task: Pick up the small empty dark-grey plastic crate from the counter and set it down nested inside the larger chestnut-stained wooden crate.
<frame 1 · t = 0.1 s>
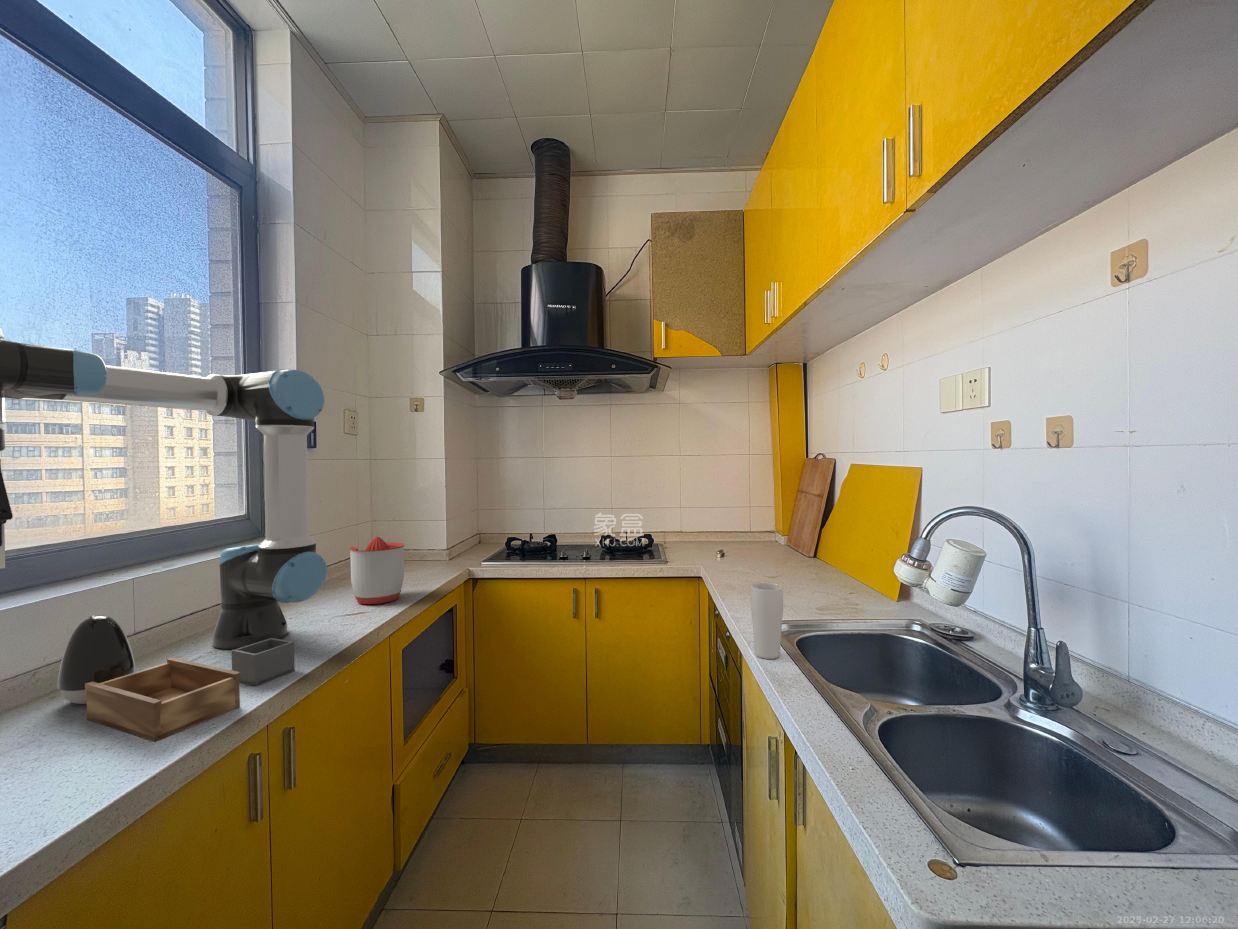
pump dispenser: (98, 699, 98), on the counter
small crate: (264, 675, 107), on the counter
large crate: (165, 713, 92), on the counter
citrus juicer: (376, 600, 165), on the counter
drinking glass: (767, 656, 115), on the counter
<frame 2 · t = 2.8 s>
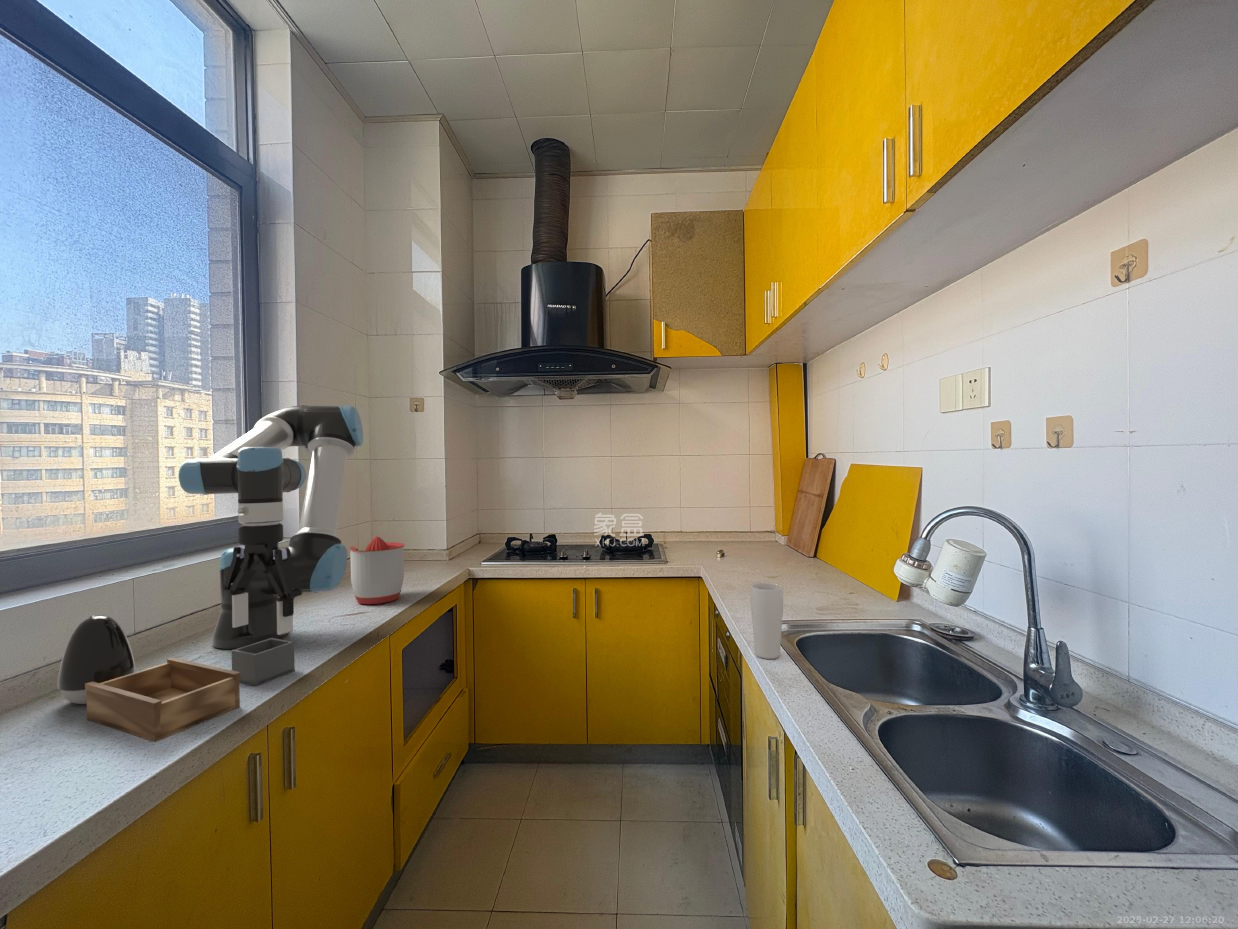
hand: (262, 629, 107), 10 cm above the counter, fingers open, 13 cm apart
nothing on the counter moved.
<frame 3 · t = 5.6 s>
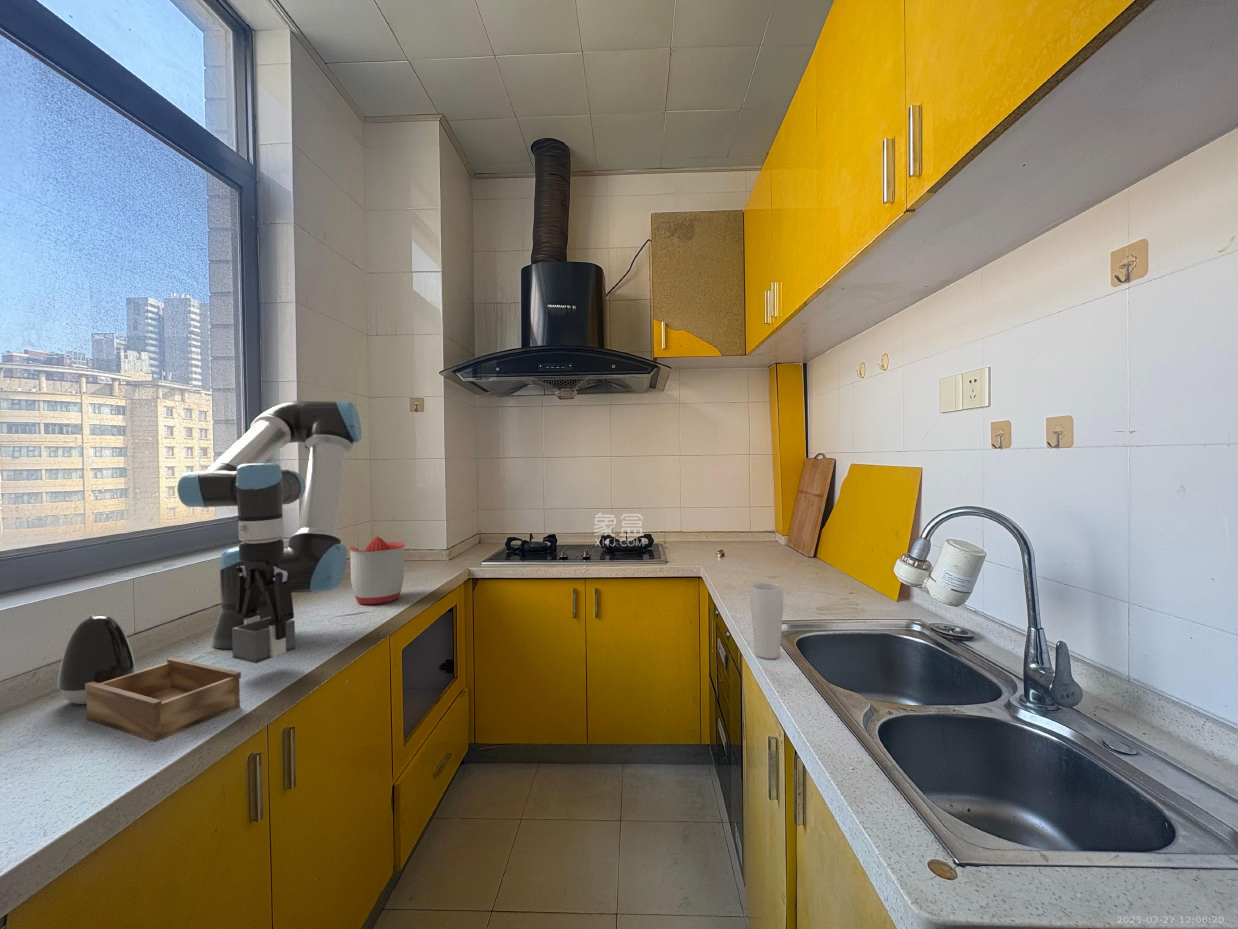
hand: (265, 651, 108), 5 cm above the counter, fingers closed on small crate, 7 cm apart
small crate: (264, 653, 108), point 4 cm above the counter, touching gripper
everything else where it was.
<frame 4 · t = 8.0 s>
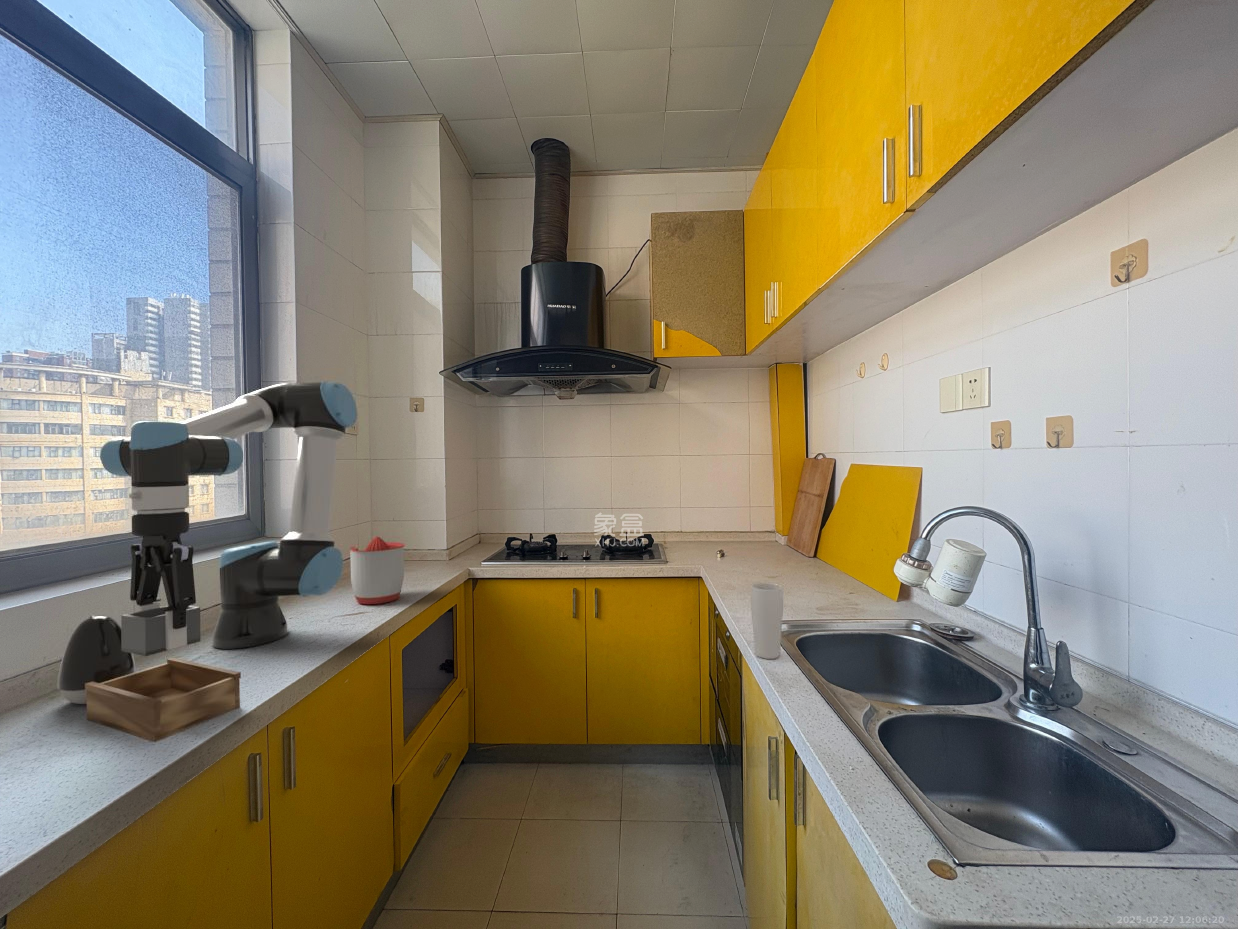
hand: (163, 644, 91), 12 cm above the counter, fingers closed on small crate, 7 cm apart
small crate: (161, 646, 91), point 12 cm above the counter, touching gripper
everything else where it was.
when the fingers open (2 cm above the counter, at t = 10.4 s): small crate stays where it is, resting on large crate.
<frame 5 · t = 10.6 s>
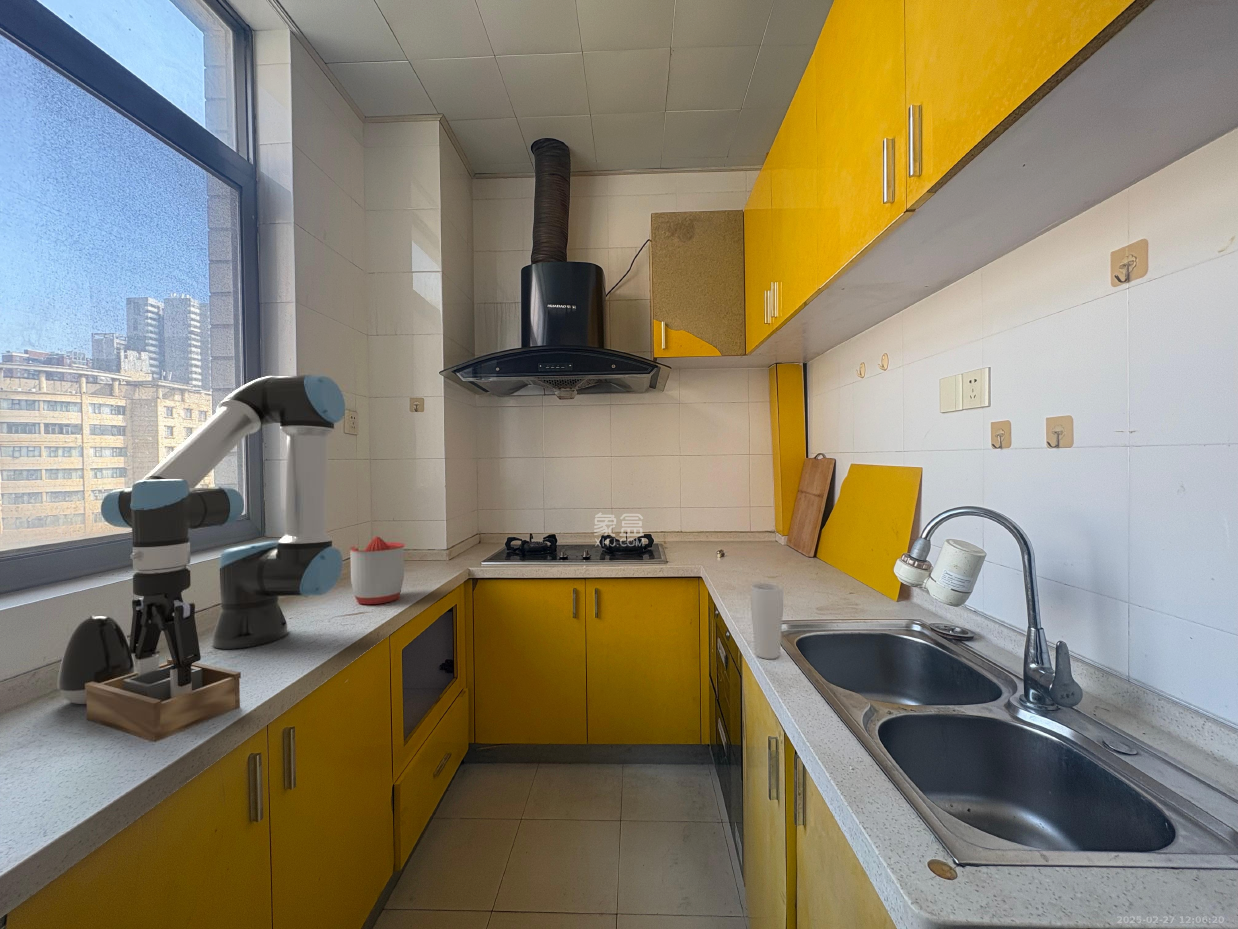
hand: (164, 699, 92), 2 cm above the counter, fingers open, 9 cm apart
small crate: (164, 709, 91), point 1 cm above the counter, touching large crate
everything else where it was.
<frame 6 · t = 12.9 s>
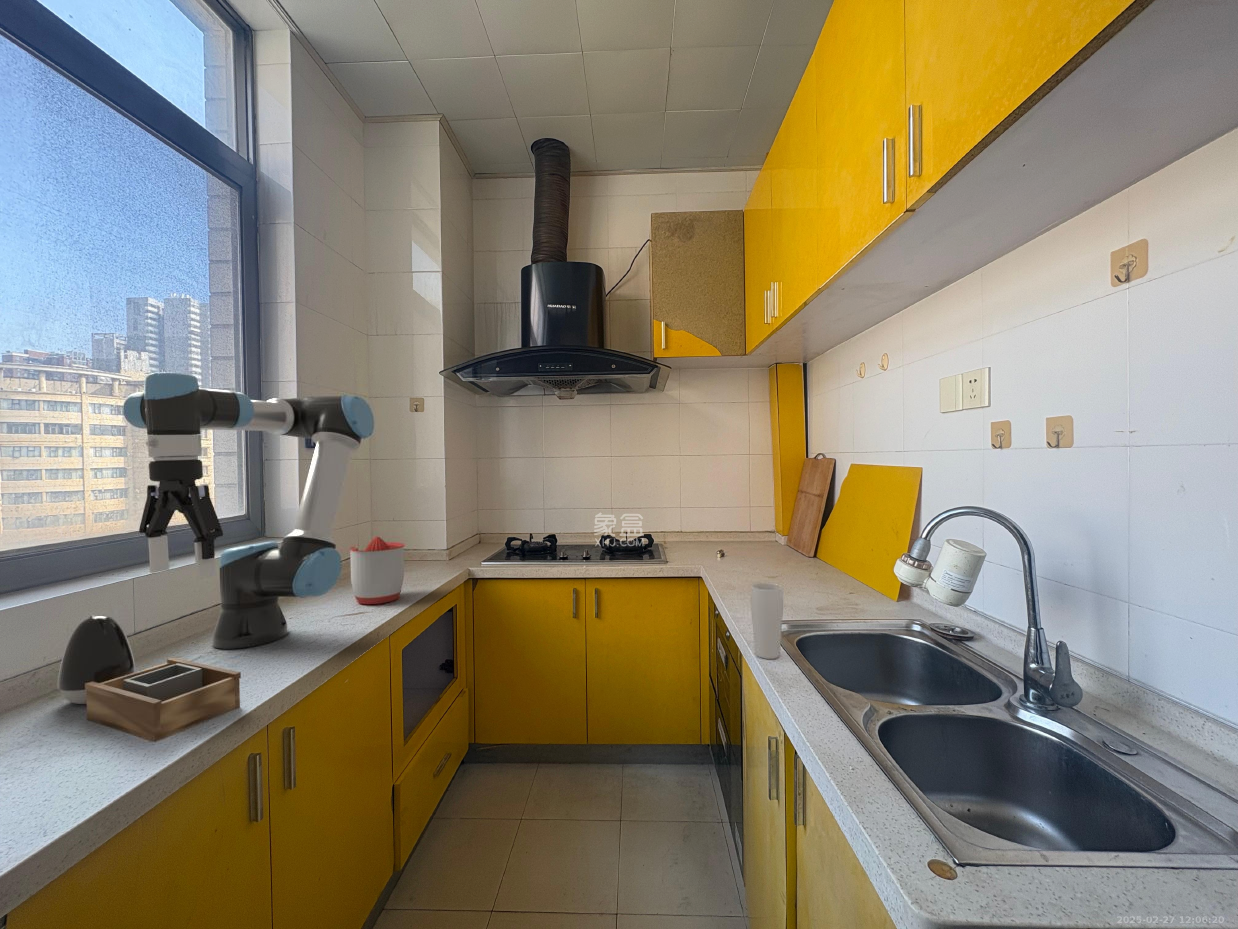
hand: (182, 574, 98), 23 cm above the counter, fingers open, 13 cm apart
nothing on the counter moved.
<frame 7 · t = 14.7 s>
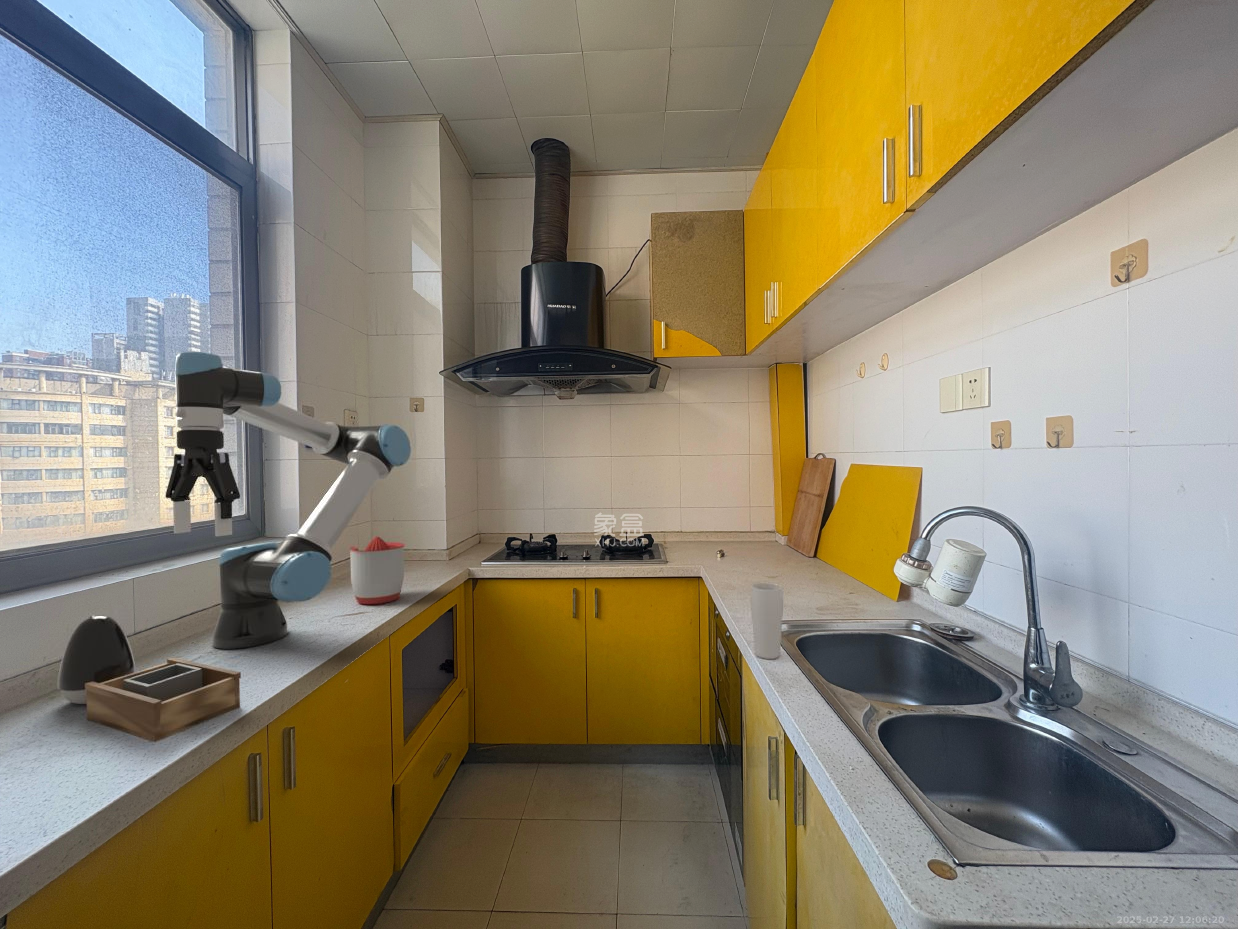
hand: (202, 534, 108), 29 cm above the counter, fingers open, 13 cm apart
nothing on the counter moved.
at the end: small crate inside the target area on the large crate (0.2 cm from its centre), point 0.8 cm above the large crate's base; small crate tilted 0°; the gripper is holding nothing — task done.
